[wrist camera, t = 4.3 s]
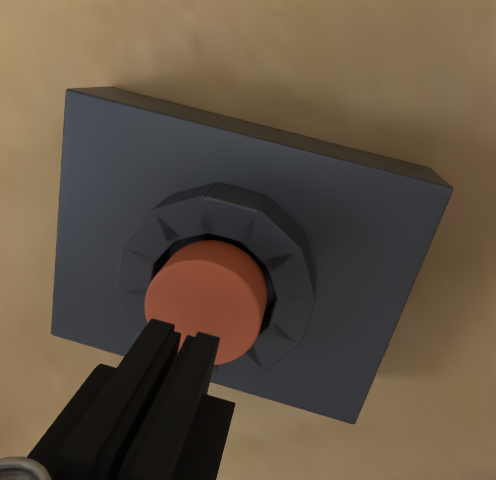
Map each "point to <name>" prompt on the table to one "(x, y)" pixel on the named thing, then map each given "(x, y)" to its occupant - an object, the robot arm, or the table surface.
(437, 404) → the table surface
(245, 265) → the push button
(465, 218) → the table surface
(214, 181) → the button base
